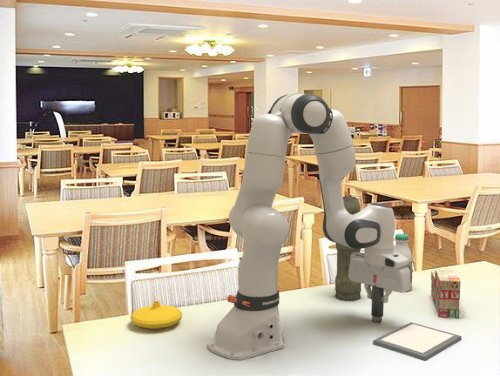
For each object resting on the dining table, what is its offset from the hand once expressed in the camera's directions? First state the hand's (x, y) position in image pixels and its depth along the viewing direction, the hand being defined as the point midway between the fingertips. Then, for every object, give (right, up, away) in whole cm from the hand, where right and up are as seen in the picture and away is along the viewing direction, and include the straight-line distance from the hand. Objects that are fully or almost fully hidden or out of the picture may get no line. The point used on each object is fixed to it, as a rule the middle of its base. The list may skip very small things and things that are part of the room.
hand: (377, 300), depth 183 cm
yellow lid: (-68, -8, 0) cm, 68 cm away
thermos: (-5, -4, +25) cm, 26 cm away
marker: (0, -6, +1) cm, 6 cm away
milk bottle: (+16, -2, +34) cm, 37 cm away
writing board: (+8, -9, -15) cm, 19 cm away
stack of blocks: (+25, -5, +14) cm, 29 cm away
